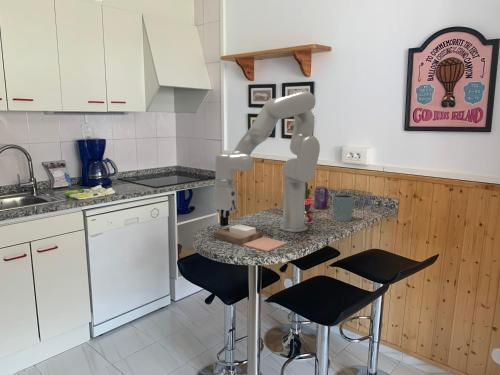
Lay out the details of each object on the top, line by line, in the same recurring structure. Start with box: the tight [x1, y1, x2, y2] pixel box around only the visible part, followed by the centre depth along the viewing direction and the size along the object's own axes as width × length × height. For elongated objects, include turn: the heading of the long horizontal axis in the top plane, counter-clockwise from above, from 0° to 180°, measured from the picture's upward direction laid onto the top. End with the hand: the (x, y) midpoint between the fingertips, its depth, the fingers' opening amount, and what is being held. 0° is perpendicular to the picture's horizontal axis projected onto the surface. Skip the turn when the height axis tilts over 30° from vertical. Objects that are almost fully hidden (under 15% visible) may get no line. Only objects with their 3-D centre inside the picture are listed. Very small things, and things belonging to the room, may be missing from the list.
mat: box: [242, 236, 288, 253], centre depth 154 cm, size 13×12×1 cm
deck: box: [212, 226, 264, 246], centre depth 162 cm, size 14×15×2 cm
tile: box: [229, 223, 257, 237], centre depth 160 cm, size 6×9×2 cm, turn 50°
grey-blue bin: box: [332, 193, 355, 222], centre depth 193 cm, size 10×10×12 cm
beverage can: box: [313, 185, 329, 210], centre depth 217 cm, size 7×7×12 cm
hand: (224, 225), depth 167 cm, fingers closed
